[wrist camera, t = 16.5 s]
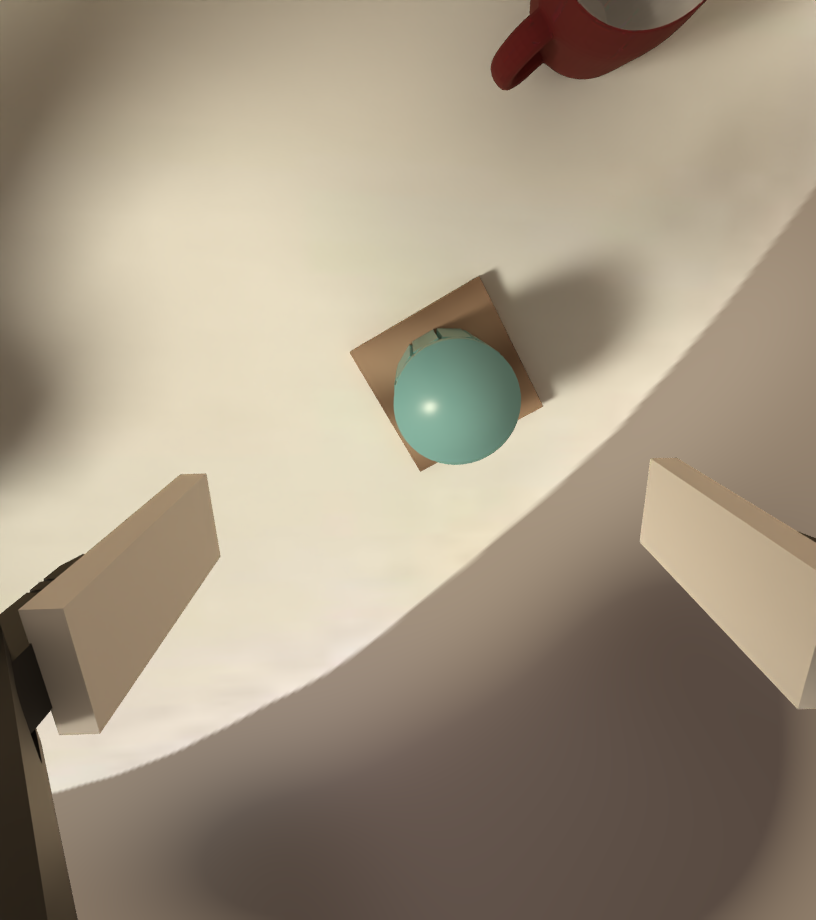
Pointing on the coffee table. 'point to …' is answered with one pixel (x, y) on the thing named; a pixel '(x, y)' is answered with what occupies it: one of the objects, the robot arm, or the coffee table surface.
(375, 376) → the post base
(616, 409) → the coffee table surface
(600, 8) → the mug
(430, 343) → the cap
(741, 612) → the robot arm
